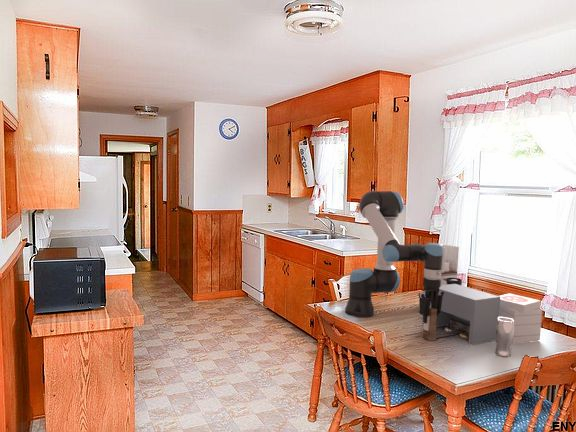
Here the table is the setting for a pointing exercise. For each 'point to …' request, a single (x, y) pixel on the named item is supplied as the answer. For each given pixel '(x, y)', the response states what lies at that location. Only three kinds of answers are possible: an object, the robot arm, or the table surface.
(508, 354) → the beer glass
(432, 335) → the brown upright bracket
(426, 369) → the table surface
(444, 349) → the table surface
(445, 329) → the steel token
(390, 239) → the robot arm
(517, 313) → the stacked pizza boxes
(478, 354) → the table surface
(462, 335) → the brass token
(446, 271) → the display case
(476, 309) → the grey cabinet
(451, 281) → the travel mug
